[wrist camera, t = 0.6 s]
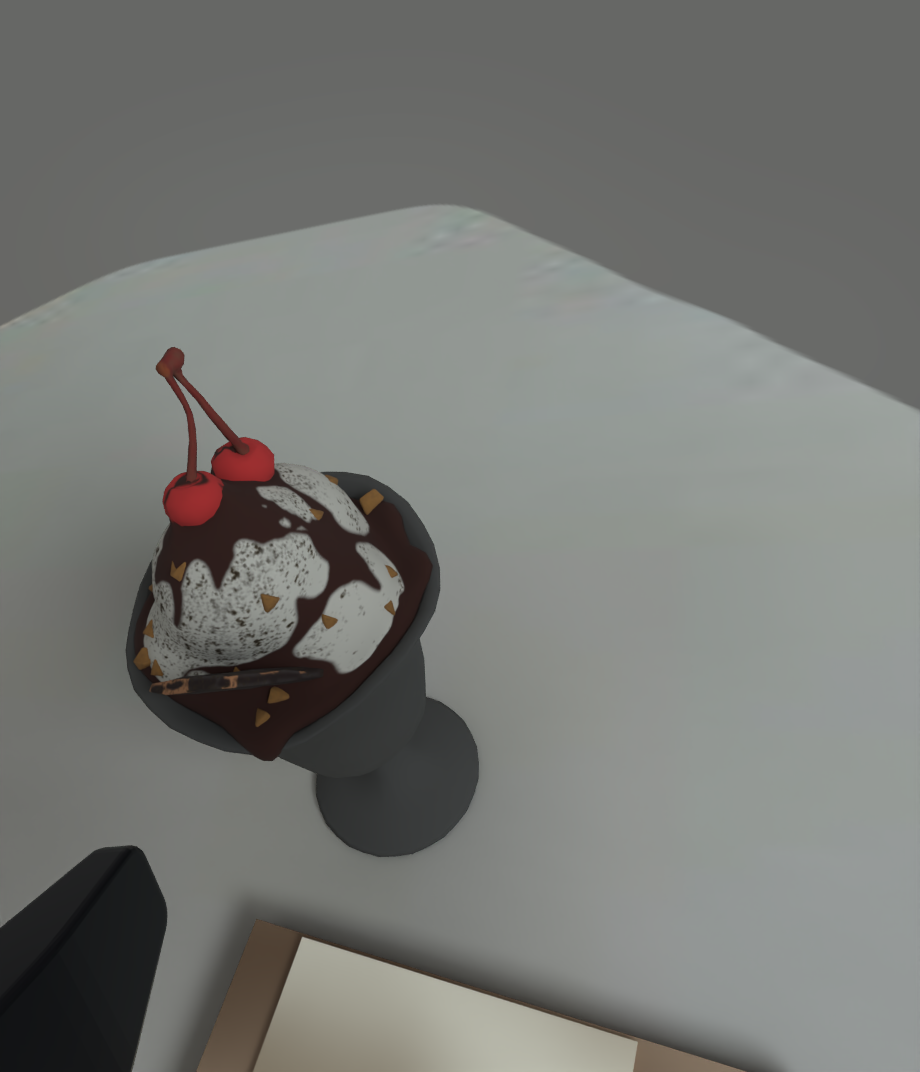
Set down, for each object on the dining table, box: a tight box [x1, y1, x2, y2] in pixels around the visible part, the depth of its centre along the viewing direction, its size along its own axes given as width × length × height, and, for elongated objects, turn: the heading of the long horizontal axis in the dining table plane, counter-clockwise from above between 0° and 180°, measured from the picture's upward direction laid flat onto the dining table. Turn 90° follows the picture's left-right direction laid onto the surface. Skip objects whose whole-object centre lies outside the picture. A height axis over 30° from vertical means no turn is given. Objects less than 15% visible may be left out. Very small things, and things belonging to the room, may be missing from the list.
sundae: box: [126, 347, 479, 857], centre depth 20 cm, size 7×7×15 cm
